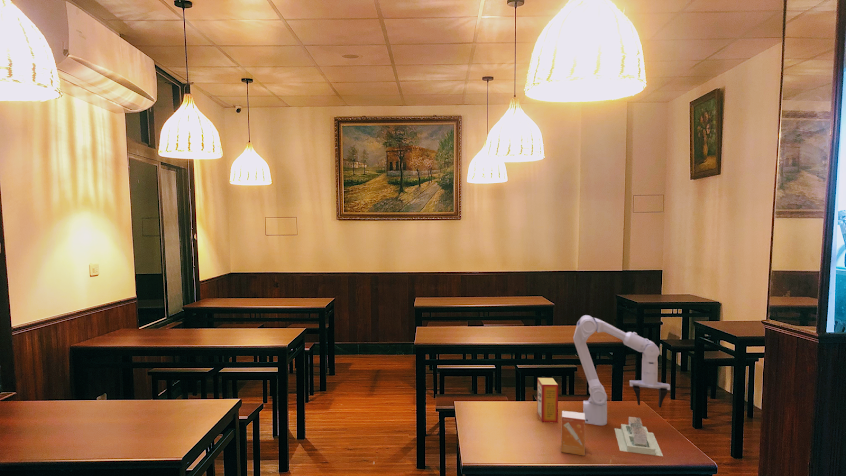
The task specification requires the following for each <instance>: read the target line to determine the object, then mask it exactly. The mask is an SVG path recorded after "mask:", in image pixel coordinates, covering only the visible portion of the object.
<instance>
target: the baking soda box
mask: <svg viewBox="0 0 846 476" xmlns="http://www.w3.org/2000/svg"><path fill="white" fill-rule="evenodd" d="M536 387H537V388H536V389H537V392H536V394H537V400H536V401H537V402H536V403H537V405H536V406H537V407H536V408H537V409H536V410H537V411H536V413H537V416H538V418H539V420H540V421H542V422H541V423H550V422H553V424H554V423H555V424H556V423H558V422H559V384H558V383H557V382H556V381H555V379H554V378H553V377H537V386H536Z"/></svg>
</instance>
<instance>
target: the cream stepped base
mask: <svg viewBox="0 0 846 476" xmlns="http://www.w3.org/2000/svg"><path fill="white" fill-rule="evenodd" d="M642 428H644V430H645V432H646V435H647V447H641V446H633V445H632V434H629V424H625V423H621V424H620V428H617V427H616V428H614V433H615V437H616V440H617V445H618V447H619V449H618V450H619V451H620V452H627V453H634V454H642V455H650V456H659V457H664V455H663V452H662V450H661V448H660V446H659V444H658V441H657V438H656V437H655V434H654V432H649V431H648V428H647V426H643V425H642Z"/></svg>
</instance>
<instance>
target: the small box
mask: <svg viewBox="0 0 846 476" xmlns="http://www.w3.org/2000/svg"><path fill="white" fill-rule="evenodd" d="M560 431H561V432H560V433H561V435H560V436H561V437H560V439H561V441H560V443H561V448H560V451H561V452H560V453H566V454H573V455H580V456H584V457H585V455H586V454H585V453H586V452H585V451H586V423H585V413H583V412H577V411H567V410H562V411H561V430H560Z"/></svg>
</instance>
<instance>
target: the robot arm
mask: <svg viewBox="0 0 846 476" xmlns="http://www.w3.org/2000/svg"><path fill="white" fill-rule="evenodd" d="M575 326H576V327H575V330H574V334H573V343H574V346H575V349H576V351H577V355H578V357H579V360H580V363H581V365H582V369H583V372H584V375H585V378H586V380H587V383H588V393H589V394H590V396H589V398H588V400H583V401H582V404H583V405H582V409H583V411H582V413H585V424H590V425H595V426H605V425H607V424H608V401H607V400H608V395H607V393H606V390H605V386H604V385H602V383H601V382H600V380H599V377H598V374H597V371H596V368H595V366H594V362H593V359H592V356H591V354H590V351H589V348H588V345H587V341H588V339H589V337H590V336H592V335H593V334H595V332H596V333H598V334H599V333H606V334H608V335H611V336H613V337H615V338H617V339H620V340H621V341H622V343H623V345H624V346H627V347H629V348H631V349H632V350H634V351H637V352H639V353H641V354H642V358H641V380H639V379H638V380H635V379H634V380H632V379H631V380H629V387H631V388H632V390H633V391H634V394H635V396H636V401H637V405H638V406H641V389H640V388H648V389H657V390H658V404H657V405H658V408H660V409H661V408H662V406H663V402H664V399H665V398H666V396H667V395H668V391H671V384H669V383H663V382H659V381H658V371H659V370H658V368H659V362H658V357H659V355H660V353H661V351H660V348H659V347H658V346H657V344H655V342H654V341H652V340H649V339H648V338H644V337H642V336H640V335H638V333H637V332H635V331H633V332H632V331H627V332H625V331H624V330H621V329H619V328H617V327H615V326H614V325H612V324H610V323H608V322H606V321H603V320H602V319H600V318H597V317H592V316H591V315H588V314H585V315H582V316H581V317H580V318H579V319H578V321H577V322H576V325H575Z"/></svg>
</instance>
